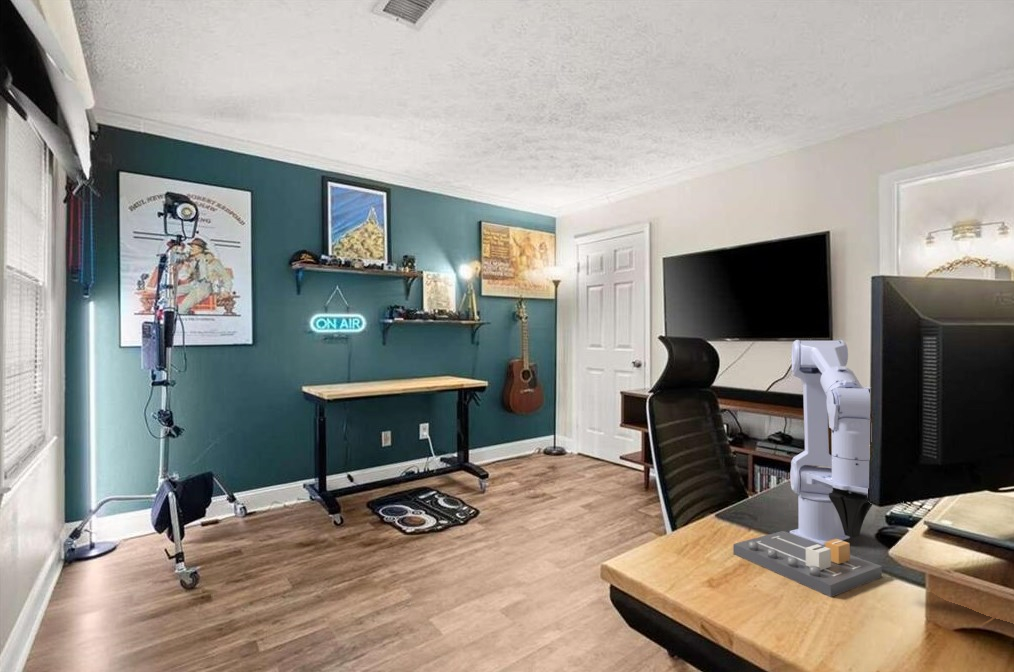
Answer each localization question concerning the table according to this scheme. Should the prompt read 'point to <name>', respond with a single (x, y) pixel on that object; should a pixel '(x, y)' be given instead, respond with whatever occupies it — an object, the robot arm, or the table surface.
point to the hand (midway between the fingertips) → (852, 535)
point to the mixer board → (790, 561)
